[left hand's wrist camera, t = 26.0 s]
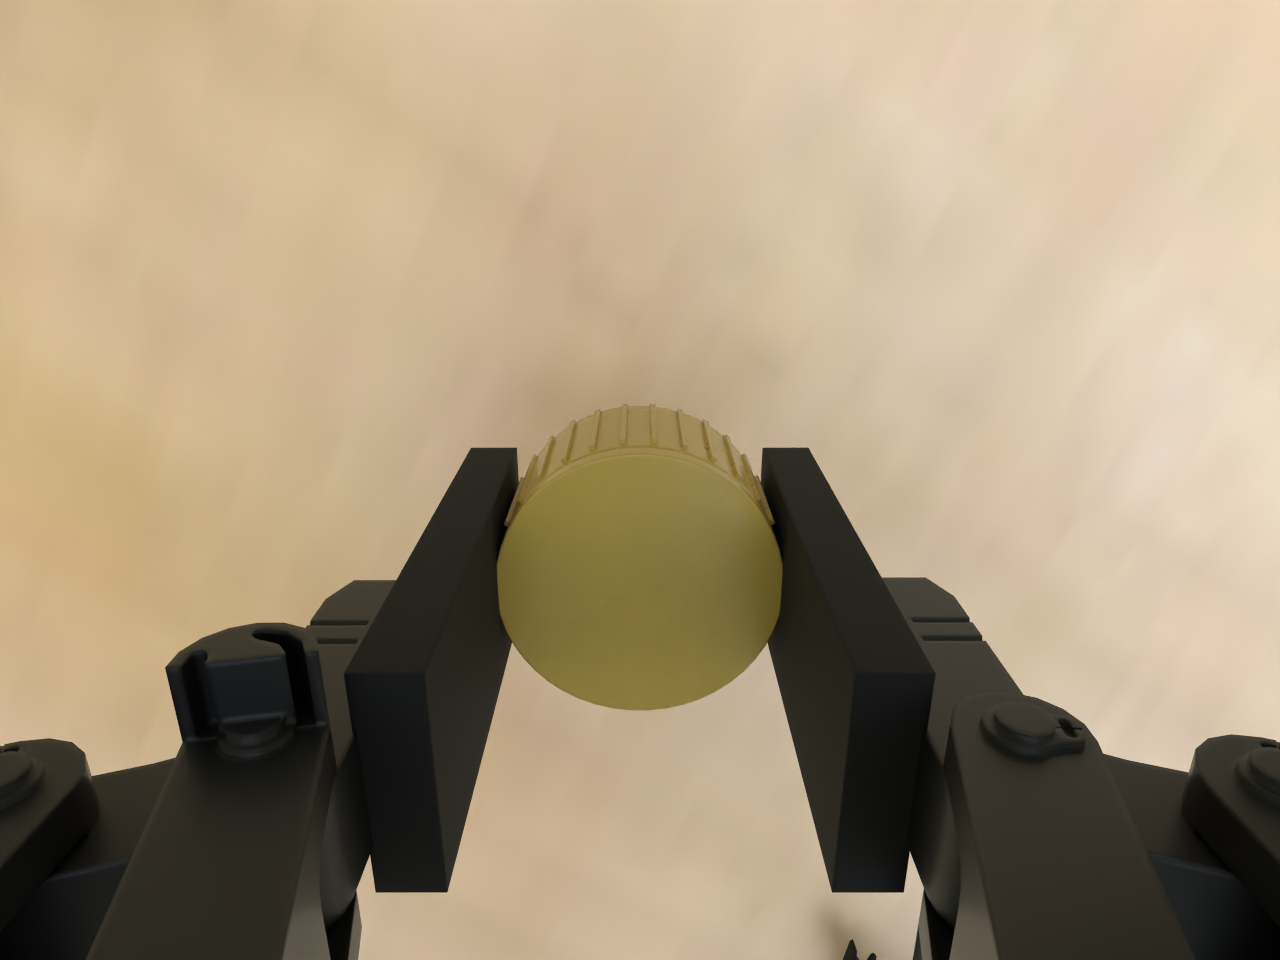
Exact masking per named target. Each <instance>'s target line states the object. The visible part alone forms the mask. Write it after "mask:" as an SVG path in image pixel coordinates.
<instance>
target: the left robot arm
mask: <svg viewBox="0 0 1280 960" xmlns="http://www.w3.org/2000/svg"><path fill="white" fill-rule="evenodd" d="M518 484H519V480H518V462H517V448H471V449H470V451H469V453H468V454H467V456H466V458H465V460H464V461H463V463H462V465H461V467H460V469H459V470H458V472H457V474H456V476H455V477H454V479H453V481H452V483H451V484H450V486H449V488H448V490H447V492H446V493H445V495H444V497H443V499H442V500H441V502H440V504H439V506H438V507H437V509H436V511H435V513H434V515H433V516H432V518H431V520H430V522H429V523H428V525H427V527H426V529H425V530H424V532H423V534H422V536H421V538H420V539H419V541H418V543H417V545H416V546H415V548H414V550H413V552H412V554H411V555H410V557H409V559H408V561H407V562H406V564H405V566H404V568H403V569H402V571H401V573H400V575H399V577H398V578H397V580H354V581H352V582H351V583H349V584H348V585H346V586H345V587H343V588H342V589H340V590H339V591H337V592H336V593H334V594H333V595H331V596H330V597H328V598H327V599H325V601H324V602H323V604H322V605H321V607H320V608H319V609H318V611H317V612H316V614H315V615H314V617H313V618H312V619H311V621H310V625H307V627H306V628H303V627H299V626H295V625H291V624H286V623H255V624H249V625H244V626H239V627H233V628H228V629H226V630H223V631H220V632H217V633H215V634H212V635H209V636H207V637H204V638H201V639H200V640H198V641H196V642H195V643H193V644H191V645H190V646H188V647H186V648H185V649H183V650H182V651H180V652H179V653H178V654H177V655H176V656H175V657H174V658H173V659H172V660H171V662H170V663H169V664H168V665H167V666H166V667H165V669H166V673H167V677H168V682H169V686H170V690H171V694H172V699H173V703H174V707H175V711H176V716H177V720H178V724H179V728H180V733H181V737H182V741H183V743H182V745H181V747H180V750H179V752H178V754H177V756H176V758H173V759H169V760H165V761H162V762H158V763H154V764H149V765H145V766H140V767H135V768H130V769H125V770H120V771H115V772H110V773H106V774H101V775H96V776H91V773H90V770H89V766H88V763H87V759H86V756H85V753H84V752H83V751H82V750H81V749H79V748H78V747H77V746H76V745H75V744H73V743H72V742H67V741H61V740H55V739H50V738H49V739H39V740H28V741H19V742H14V743H9V744H5V746H2V747H1V746H0V960H358V956H359V947H360V938H361V929H362V925H361V918H360V911H359V905H358V898H357V892H356V889H357V887H358V884H359V881H360V879H361V876H362V874H363V871H364V868H365V866H366V863H367V860H368V858H369V855H370V856H371V863H372V870H373V877H374V883H375V890H376V892H447V891H448V887H449V884H450V880H451V876H452V872H453V868H454V864H455V860H456V857H457V853H458V849H459V845H460V841H461V837H462V833H463V830H464V826H465V822H466V818H467V814H468V810H469V806H470V802H471V799H472V795H473V791H474V787H475V783H476V779H477V775H478V772H479V768H480V764H481V760H482V756H483V752H484V748H485V745H486V741H487V737H488V733H489V729H490V725H491V721H492V717H493V714H494V710H495V706H496V702H497V698H498V694H499V690H500V687H501V683H502V679H503V675H504V671H505V667H506V663H507V659H508V656H509V652H510V648H511V644H512V641H511V639H510V637H509V635H508V633H507V631H506V629H505V627H504V624H503V621H502V619H501V616H500V609H499V596H498V581H497V559H498V555H499V550H500V546H501V543H502V541H503V538H504V535H505V532H506V529H507V526H505V525H504V522H505V520H506V517H507V514H508V512H509V509H510V506H511V503H512V501H513V498H514V495H515V493H516V490H517V487H518ZM761 485H762V488H763V491H764V494H765V496H766V499H767V502H768V505H769V508H770V510H771V513H772V516H773V519H774V521H775V524H772V528H773V531H774V534H775V537H776V540H777V542H778V545H779V548H780V553H781V557H782V561H783V573H782V589H781V603H780V614H779V617H778V620H777V623H776V625H775V628H774V631H773V632H772V634H771V636H770V638H769V640H768V641H767V642H768V646H769V650H770V654H771V658H772V662H773V665H774V669H775V673H776V677H777V681H778V685H779V689H780V692H781V696H782V700H783V704H784V708H785V712H786V716H787V720H788V723H789V727H790V731H791V735H792V739H793V743H794V747H795V750H796V754H797V758H798V762H799V766H800V770H801V774H802V778H803V781H804V785H805V789H806V793H807V797H808V801H809V805H810V808H811V812H812V816H813V820H814V824H815V828H816V832H817V836H818V839H819V843H820V847H821V851H822V855H823V859H824V863H825V866H826V870H827V874H828V878H829V882H830V886H831V890H832V892H904V886H905V880H906V873H907V866H908V859H909V852H910V853H911V855H912V858H913V860H914V863H915V866H916V868H917V871H918V873H919V876H920V879H921V881H922V884H923V886H924V892H923V898H922V905H921V911H920V917H919V924H918V930H917V936H916V943H915V949H914V956H913V960H1280V743H1279V742H1276V740H1271V739H1266V738H1261V737H1251V736H1241V735H1226V736H1220V737H1214V738H1208V739H1207V740H1206V741H1205V742H1203V743H1202V744H1201V745H1200V746H1199V747H1197V748H1196V750H1195V753H1194V757H1193V760H1192V764H1191V767H1190V771H1189V773H1188V772H1183V771H1178V770H1173V769H1168V768H1163V767H1158V766H1153V765H1149V764H1144V763H1139V762H1134V761H1129V760H1125V759H1121V758H1117V757H1113V756H1110V755H1106V754H1103V753H1102V750H1101V748H1100V746H1099V744H1098V741H1097V740H1096V739H1095V737H1094V736H1093V735H1092V733H1091V732H1090V731H1089V730H1088V728H1087V727H1086V726H1085V724H1084V723H1082V722H1081V721H1079V720H1078V719H1076V718H1075V717H1074V716H1072V715H1071V714H1069V713H1068V712H1067V711H1065V710H1064V709H1062V708H1059V707H1057V706H1055V705H1052V704H1050V703H1048V702H1045V701H1043V700H1040V699H1038V698H1034V697H1030V696H1025V695H1023V693H1022V692H1021V691H1020V689H1019V688H1018V686H1017V685H1016V684H1015V682H1014V681H1013V679H1012V678H1011V676H1010V675H1009V674H1008V672H1007V671H1006V669H1005V668H1004V666H1003V665H1002V664H1001V662H1000V661H999V659H998V658H997V657H996V655H995V654H994V652H993V651H992V649H991V648H990V647H989V645H988V644H987V642H986V641H982V635H981V634H980V632H979V631H978V630H977V628H976V627H975V625H974V624H973V622H970V621H969V617H968V615H967V614H966V612H965V611H964V610H963V608H962V607H961V605H960V604H959V603H958V601H957V600H956V598H955V597H954V596H953V595H951V594H950V593H948V592H947V591H945V590H944V589H942V588H941V587H939V586H938V585H936V584H935V583H933V582H932V581H930V580H928V579H927V578H881V576H880V574H879V572H878V570H877V569H876V567H875V565H874V563H873V562H872V560H871V558H870V556H869V555H868V553H867V551H866V549H865V547H864V546H863V544H862V542H861V540H860V539H859V537H858V535H857V533H856V532H855V530H854V528H853V526H852V524H851V523H850V521H849V519H848V517H847V516H846V514H845V512H844V510H843V509H842V507H841V505H840V503H839V501H838V500H837V498H836V496H835V494H834V493H833V491H832V489H831V487H830V485H829V484H828V482H827V480H826V478H825V477H824V475H823V473H822V471H821V470H820V468H819V466H818V464H817V462H816V461H815V459H814V457H813V455H812V454H811V452H810V450H809V448H763V452H762V470H761Z"/></svg>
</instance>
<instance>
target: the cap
mask: <svg viewBox="0 0 1280 960" xmlns="http://www.w3.org/2000/svg"><path fill="white" fill-rule="evenodd" d="M772 524H775V521H774V519H773V516H772V513H771V510H770V508H769V505H768V502H767V499H766V496H765V494H764V491H763V488H762V485H761V483H760V480H759V477H758V476H755V477H754V475H753V473H752V470H751V467H750V464H749V461H748V458H747V456H746V455H745V454H743V455H741V454H740V453H739V451H738V450H737V449H736V448H735V447H734V446H733V445H732V444H731V440H730V437H729V436H727V435H725V436H723V435H721V434H720V433H719V432H717V431H716V430H715V429H713V428H712V427H710V426H709V424H708V421H706V420H703V421H700V420H698V419H696V418H693V417H691V416H688V415H686V414H683V410H680V409H678V410H677V411H673V410H669V409H665V408H657V407H656V405H654V404H650V407H649V406H631V407H628V405H627V404H625V405H622V407H621V408H615V409H611V410H607V411H603V412H601V411H600V410H597V411H595V414H594V415H591V416H589V417H586V418H584V419H582V420H580V421H578V422H575V420H574V421H572V422H570V426H569V427H568V428H566V429H565V430H564V431H562V432H561V433H560V434H558V435H557V436H556V437H555V438H554V437H553V436H551V437H550V438H549V440H548V443H547V445H546V446H545V447H544V449H543V450H542V451H541V452H540V454H539V455H538V456H535V455H534V456H533V457H532V459H531V462H530V465H529V468H528V470H527V473H526V476H525V478H523V477H521V479H520V482H519V484H518V487H517V490H516V493H515V495H514V498H513V501H512V503H511V506H510V509H509V512H508V514H507V517H506V520H505V522H504V525H505V526H507V529H506V532H505V535H504V538H503V541H502V543H501V546H500V550H499V555H498V559H497V581H498V596H499V609H500V616H501V619H502V621H503V624H504V627H505V629H506V631H507V633H508V635H509V637H510V639H511V641H512V642H513V644H514V646H515V647H516V648H517V650H518V651H519V653H520V654H521V655H522V657H523V658H524V659H525V660H526V661H527V662H528V663H529V664H530V666H531V667H532V668H533V669H534V670H535V671H536V672H538V673H539V674H540V675H541V676H542V677H544V678H545V679H546V680H547V681H549V682H550V683H552V684H553V685H555V686H556V687H558V688H559V689H561V690H563V691H565V692H567V693H569V694H571V695H573V696H575V697H577V698H579V699H582V700H585V701H588V702H591V703H593V704H597V705H601V706H606V707H610V708H616V709H625V710H655V709H664V708H670V707H674V706H679V705H683V704H686V703H689V702H692V701H695V700H698V699H700V698H703V697H705V696H707V695H709V694H711V693H713V692H715V691H717V690H718V689H720V688H722V687H723V686H725V685H726V684H728V683H730V682H731V681H732V680H733V679H735V678H736V677H737V676H738V675H740V674H741V673H742V672H743V671H744V670H745V669H746V668H747V667H748V666H749V665H750V664H751V663H752V662H753V661H754V660H755V659H756V657H757V656H758V655H759V653H760V652H761V651H762V649H763V648H764V647H765V645H766V643H767V641H768V640H769V638H770V636H771V634H772V632H773V631H774V628H775V625H776V623H777V620H778V617H779V614H780V603H781V589H782V573H783V561H782V557H781V553H780V548H779V545H778V542H777V540H776V537H775V534H774V531H773V528H772Z"/></svg>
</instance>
